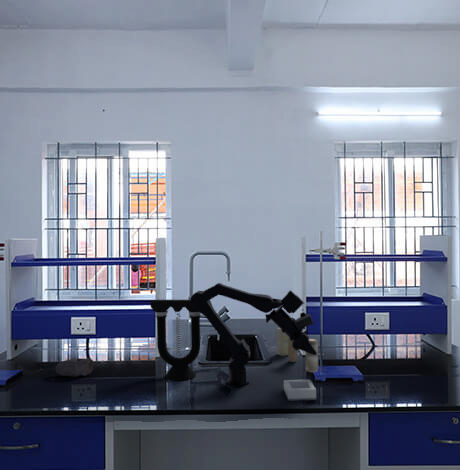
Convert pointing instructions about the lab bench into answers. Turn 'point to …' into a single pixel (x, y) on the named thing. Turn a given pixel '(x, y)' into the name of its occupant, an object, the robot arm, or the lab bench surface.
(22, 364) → the lab bench surface
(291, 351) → the handle
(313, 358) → the peg
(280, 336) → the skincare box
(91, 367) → the perforated stone tool
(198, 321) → the spring support
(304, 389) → the socket block
